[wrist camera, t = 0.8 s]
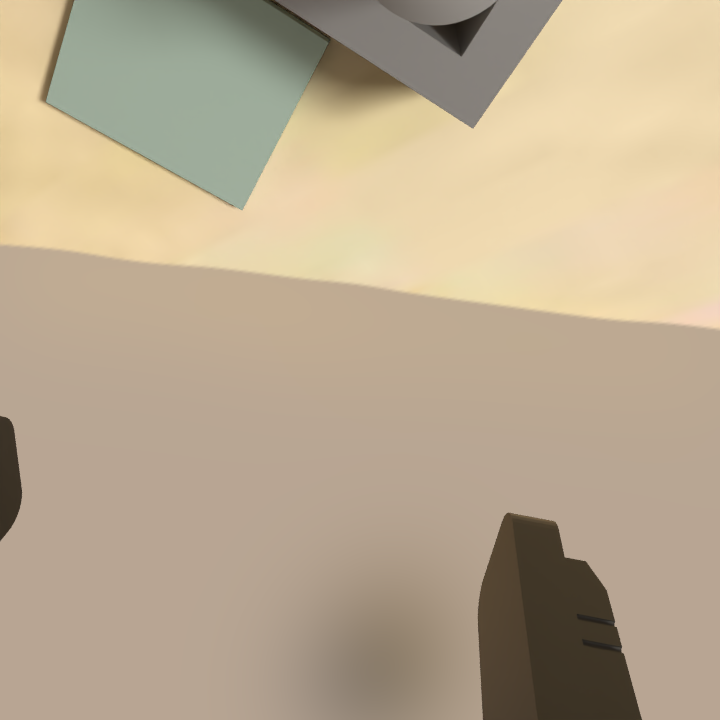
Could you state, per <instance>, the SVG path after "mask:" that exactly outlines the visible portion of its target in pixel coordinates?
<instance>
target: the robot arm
mask: <svg viewBox="0 0 720 720" xmlns="http://www.w3.org/2000/svg"><path fill="white" fill-rule="evenodd" d="M21 499H22V488H21V480H20V473H19V464H18V457H17V449H16V441H15V434H14V428H13V425H12V422H11V421H10V420H9V419H8V418H6V417H2V416H0V540H1V539H2V538H3V537H4V536H5V535H6V533H7V532H8V531H9V529H10V528H11V526H12V525H13V523H14V521H15V519H16V517H17V515H18V512H19V509H20V505H21ZM614 623H615V620H614V616H613V612H612V608H611V605H610V601H609V598H608V594H607V590H606V589H605V587H604V586H603V585H602V583H601V582H600V581H599V579H598V578H597V576H596V575H595V574H594V572H593V571H592V569H591V568H590V567H589V565H588V564H587V562H586V561H581V560H575V559H570V558H565V557H564V552H563V548H562V543H561V539H560V534H559V529H558V526H557V524H556V522H554V521H549V520H545V519H539V518H534V517H529V516H523V515H518V514H513V513H507V514H506V515H505V516H504V519H503V521H502V524H501V527H500V530H499V533H498V536H497V539H496V542H495V545H494V548H493V552H492V554H491V558H490V561H489V564H488V566H487V570H486V573H485V576H484V579H483V582H482V586H481V592H480V598H479V606H478V632H479V651H480V668H481V669H480V670H481V690H482V709H483V720H642V719H641V715H640V712H639V708H638V704H637V700H636V697H635V693H634V689H633V686H632V682H631V678H630V675H629V671H628V667H627V664H626V660H625V656H624V654H623V653H622V652H621V648H622V645H621V642H620V638H619V635H618V631H617V627H614Z"/></svg>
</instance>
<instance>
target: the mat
mask: <svg viewBox="0 0 720 720" xmlns="http://www.w3.org/2000/svg"><path fill="white" fill-rule="evenodd" d="M329 41H330V39H328V38H327V37H325V36H324V35H322V34H321V33H319V32H318V31H316V30H315V29H313V28H311V27H310V26H308V25H307V24H305V23H304V22H302V21H301V20H299V19H297V18H296V17H294V16H293V15H291V14H290V13H288V12H287V11H285V10H284V9H282V8H280V7H279V6H277V5H276V4H274V3H273V2H271V1H270V0H74V3H73V7H72V10H71V14H70V17H69V21H68V24H67V28H66V31H65V35H64V39H63V42H62V46H61V49H60V53H59V56H58V60H57V63H56V67H55V71H54V74H53V78H52V81H51V85H50V88H49V92H48V95H47V99H46V102H47V103H48V104H50V105H52V106H54V107H56V108H58V109H59V110H61V111H63V112H65V113H67V114H68V115H70V116H72V117H74V118H76V119H77V120H79V121H81V122H83V123H85V124H86V125H88V126H90V127H92V128H94V129H96V130H97V131H99V132H101V133H103V134H105V135H106V136H108V137H110V138H112V139H114V140H115V141H117V142H119V143H121V144H123V145H124V146H126V147H128V148H130V149H132V150H134V151H135V152H137V153H139V154H141V155H143V156H144V157H146V158H148V159H150V160H152V161H153V162H155V163H157V164H159V165H161V166H162V167H164V168H166V169H168V170H170V171H172V172H173V173H175V174H177V175H179V176H181V177H182V178H184V179H186V180H188V181H190V182H191V183H193V184H195V185H197V186H199V187H200V188H202V189H204V190H206V191H208V192H210V193H211V194H213V195H215V196H217V197H219V198H220V199H222V200H224V201H226V202H228V203H229V204H231V205H233V206H235V207H237V208H239V209H240V210H243V208H244V206H245V204H246V202H247V200H248V198H249V196H250V195H251V193H252V191H253V189H254V187H255V185H256V183H257V181H258V179H259V177H260V175H261V173H262V171H263V169H264V167H265V165H266V164H267V162H268V160H269V158H270V156H271V154H272V152H273V150H274V148H275V146H276V144H277V142H278V140H279V138H280V136H281V134H282V133H283V131H284V129H285V127H286V125H287V123H288V121H289V119H290V117H291V115H292V113H293V111H294V109H295V107H296V105H297V103H298V101H299V100H300V98H301V96H302V94H303V92H304V90H305V88H306V86H307V84H308V82H309V80H310V78H311V76H312V74H313V72H314V70H315V69H316V67H317V65H318V63H319V61H320V59H321V57H322V55H323V53H324V51H325V49H326V47H327V45H328V43H329Z"/></svg>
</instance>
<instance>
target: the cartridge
mask: <svg viewBox="0 0 720 720" xmlns="http://www.w3.org/2000/svg"><path fill="white" fill-rule="evenodd" d="M377 1H378V2H379V3H380V4H381V5H383V6H384V7H385V8H386V9H388V10H389V11H390V12H392V13H394V14H396V15H397V16H399V17H401V18H403V19H406V20H408V21H411V22H415V23H419V24H424V25H447V24H453V23H458V22H460V21H463V20H466V19H469V18H471V17H473V16H475V15H477V14H479V13H481V12H482V11H484V10H485V9H487V8H488V7H490V6H491V5H492V4H494V3H495V2H496V1H497V0H377Z"/></svg>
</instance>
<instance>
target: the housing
mask: <svg viewBox="0 0 720 720" xmlns="http://www.w3.org/2000/svg"><path fill="white" fill-rule="evenodd" d="M275 1H276V2H278V3H280V4H281V5H283V6H284V7H286V8H287V9H289V10H290V11H292V12H293V13H295V14H297V15H298V16H300V17H301V18H303V19H304V20H306V21H307V22H309V23H310V24H312V25H314V26H315V27H317V28H318V29H320V30H321V31H323V32H324V33H326V34H327V35H329V36H331V37H332V38H334V39H335V40H337V41H338V42H340V43H341V44H343V45H344V46H346V47H348V48H349V49H351V50H352V51H354V52H355V53H357V54H358V55H360V56H361V57H363V58H365V59H366V60H368V61H369V62H371V63H372V64H374V65H375V66H377V67H378V68H380V69H382V70H383V71H385V72H386V73H388V74H389V75H391V76H392V77H394V78H395V79H397V80H399V81H400V82H402V83H403V84H405V85H406V86H408V87H409V88H411V89H412V90H414V91H416V92H417V93H419V94H420V95H422V96H423V97H425V98H426V99H428V100H429V101H431V102H433V103H434V104H436V105H437V106H439V107H440V108H442V109H443V110H445V111H446V112H448V113H450V114H451V115H453V116H454V117H456V118H457V119H459V120H460V121H462V122H463V123H465V124H467V125H468V126H470V127H471V128H474V127H475V125H476V124H477V122H478V121H479V119H480V118H481V117H482V115H483V114H484V112H485V111H486V109H487V108H488V106H489V105H490V104H491V102H492V101H493V99H494V98H495V96H496V95H497V94H498V92H499V91H500V89H501V88H502V86H503V85H504V83H505V82H506V81H507V79H508V78H509V76H510V75H511V73H512V72H513V71H514V69H515V68H516V66H517V65H518V63H519V62H520V60H521V59H522V58H523V56H524V55H525V53H526V52H527V50H528V49H529V48H530V46H531V45H532V43H533V42H534V40H535V39H536V37H537V36H538V35H539V33H540V32H541V30H542V29H543V27H544V26H545V25H546V23H547V22H548V20H549V19H550V17H551V16H552V14H553V13H554V12H555V10H556V9H557V7H558V6H559V4H560V3H561V2H562V0H497V1H496V2H495V3H494V4H492V5H491V6H490V7H488V8H487V9H485V10H484V11H482V12H481V13H479V14H477V15H475V16H473V17H471V18H469V19H466V20H463V21H460V22H458V23H453V24H447V25H424V24H419V23H415V22H411V21H408V20H406V19H403V18H401V17H399V16H397V15H396V14H394V13H392V12H390V11H389V10H388V9H386V8H385V7H384V6H383V5H381V4H380V3H379V2H378V1H377V0H275Z"/></svg>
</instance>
